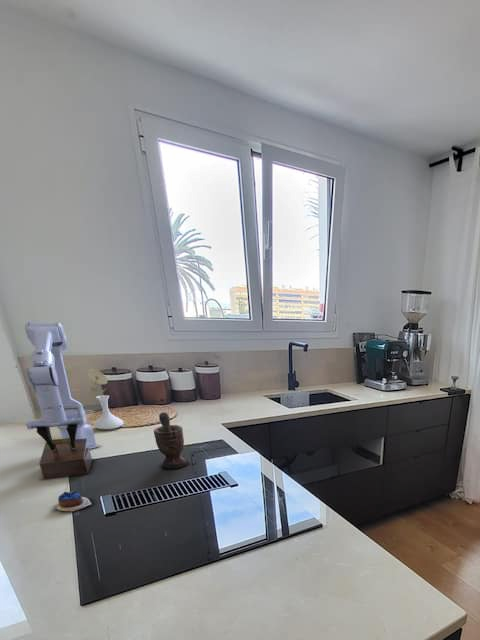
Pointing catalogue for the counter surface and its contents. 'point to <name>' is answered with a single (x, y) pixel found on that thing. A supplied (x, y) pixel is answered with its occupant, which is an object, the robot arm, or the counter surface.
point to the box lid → (63, 451)
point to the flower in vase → (103, 404)
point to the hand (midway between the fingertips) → (63, 448)
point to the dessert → (72, 501)
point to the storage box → (67, 468)
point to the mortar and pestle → (170, 442)
